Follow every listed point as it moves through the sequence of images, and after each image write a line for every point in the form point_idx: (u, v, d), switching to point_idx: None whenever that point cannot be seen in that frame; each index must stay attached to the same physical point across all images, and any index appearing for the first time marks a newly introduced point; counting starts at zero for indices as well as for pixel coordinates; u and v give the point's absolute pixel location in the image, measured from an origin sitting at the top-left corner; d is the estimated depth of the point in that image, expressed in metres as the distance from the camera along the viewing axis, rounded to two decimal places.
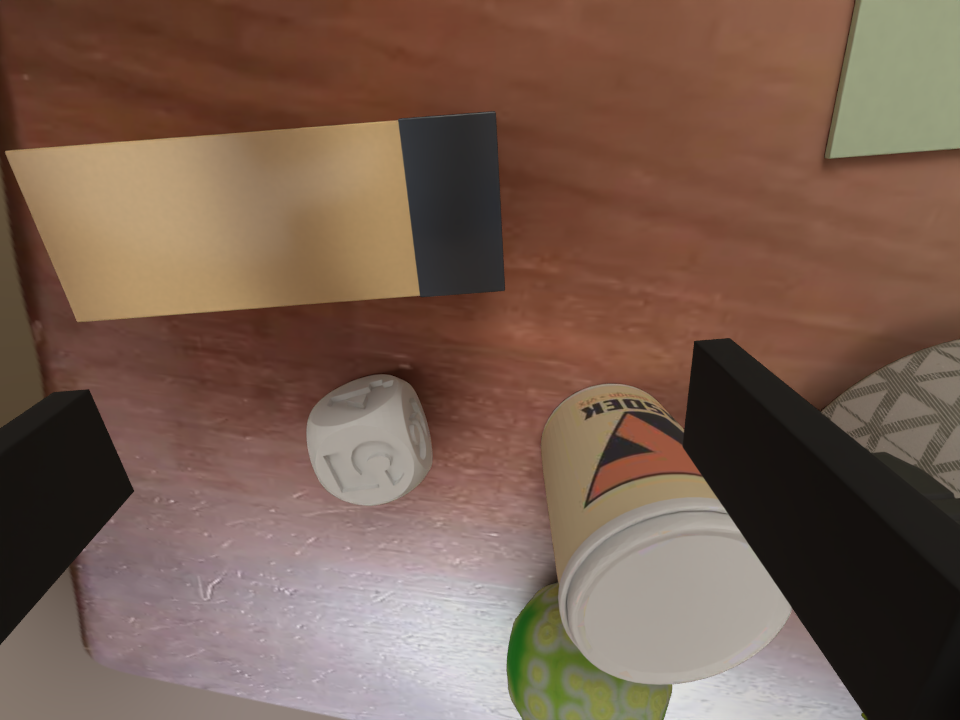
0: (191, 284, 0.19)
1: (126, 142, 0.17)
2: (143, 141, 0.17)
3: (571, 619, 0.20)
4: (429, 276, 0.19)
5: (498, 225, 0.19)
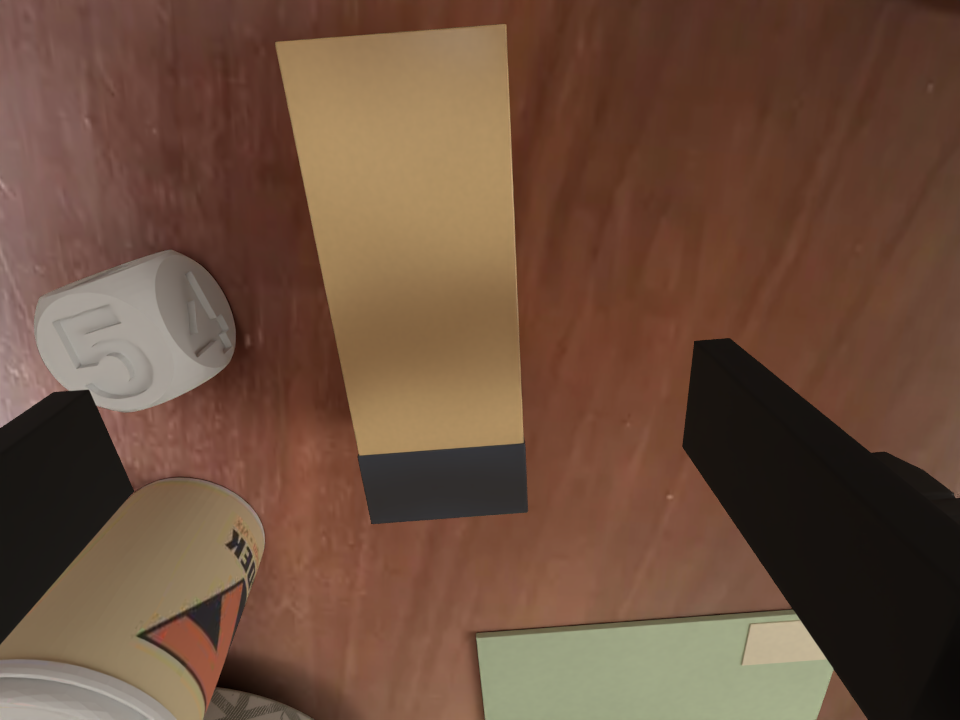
0: (348, 221, 0.15)
1: (512, 186, 0.15)
2: (512, 206, 0.15)
3: None
4: (380, 464, 0.19)
5: (432, 515, 0.20)
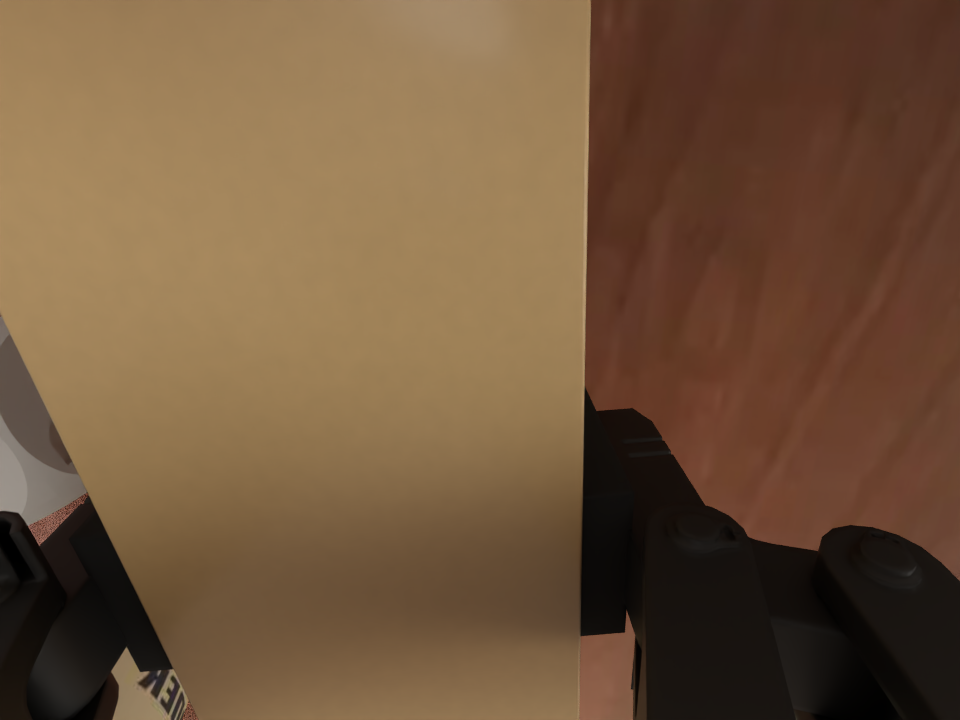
0: (142, 399, 0.06)
1: (584, 311, 0.05)
2: (582, 359, 0.06)
3: None
4: None
5: None
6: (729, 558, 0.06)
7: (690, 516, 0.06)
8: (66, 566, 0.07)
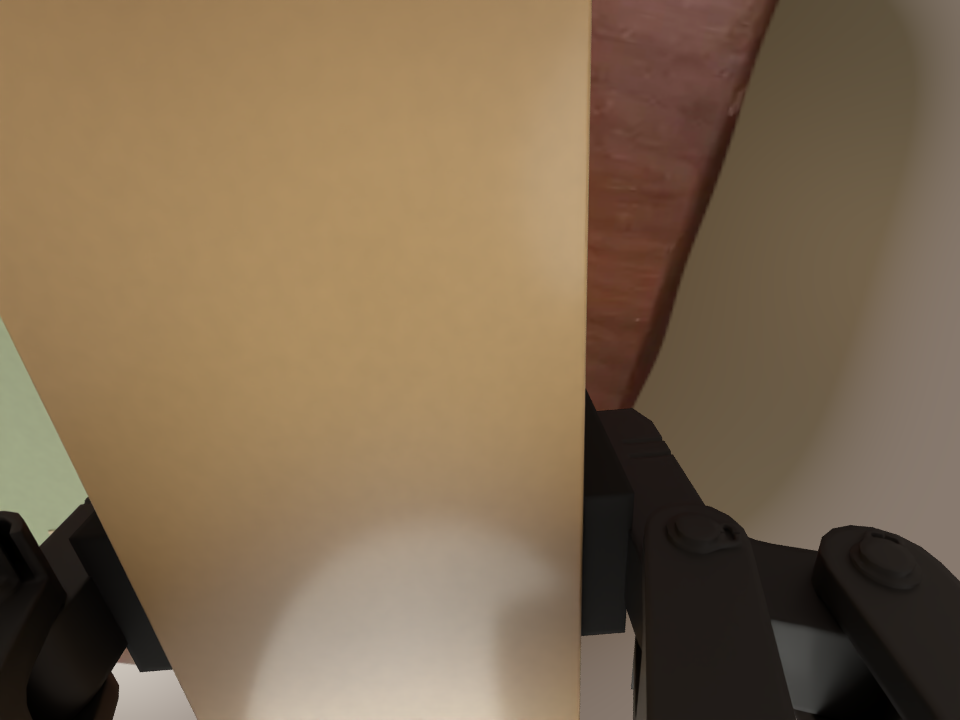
0: (141, 399, 0.06)
1: (585, 311, 0.05)
2: (583, 359, 0.06)
3: None
4: None
5: None
6: (729, 558, 0.06)
7: (690, 516, 0.06)
8: (66, 566, 0.07)
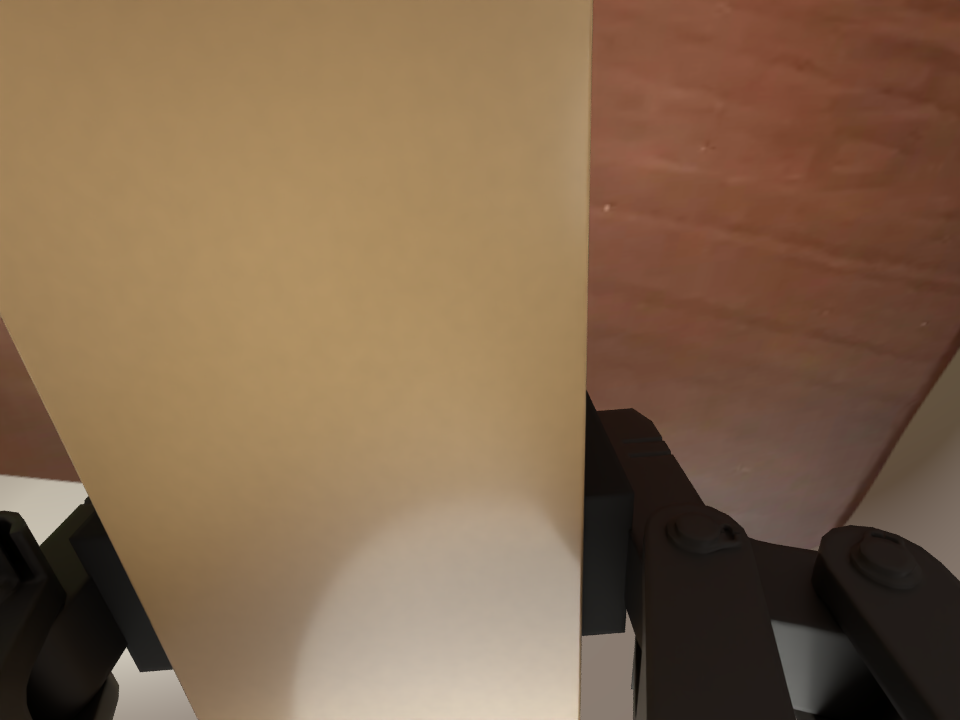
0: (141, 397, 0.06)
1: (586, 308, 0.05)
2: (584, 357, 0.06)
3: None
4: None
5: None
6: (729, 558, 0.06)
7: (690, 516, 0.06)
8: (66, 566, 0.07)
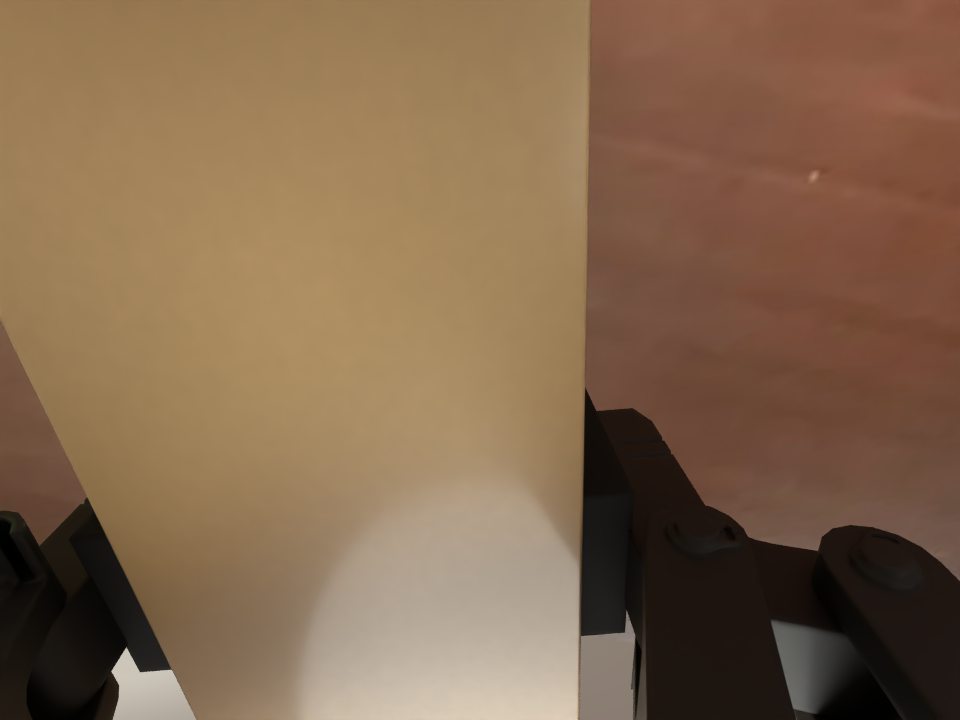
0: (140, 398, 0.06)
1: (584, 309, 0.05)
2: (583, 357, 0.06)
3: None
4: None
5: None
6: (730, 558, 0.06)
7: (690, 516, 0.06)
8: (66, 566, 0.07)
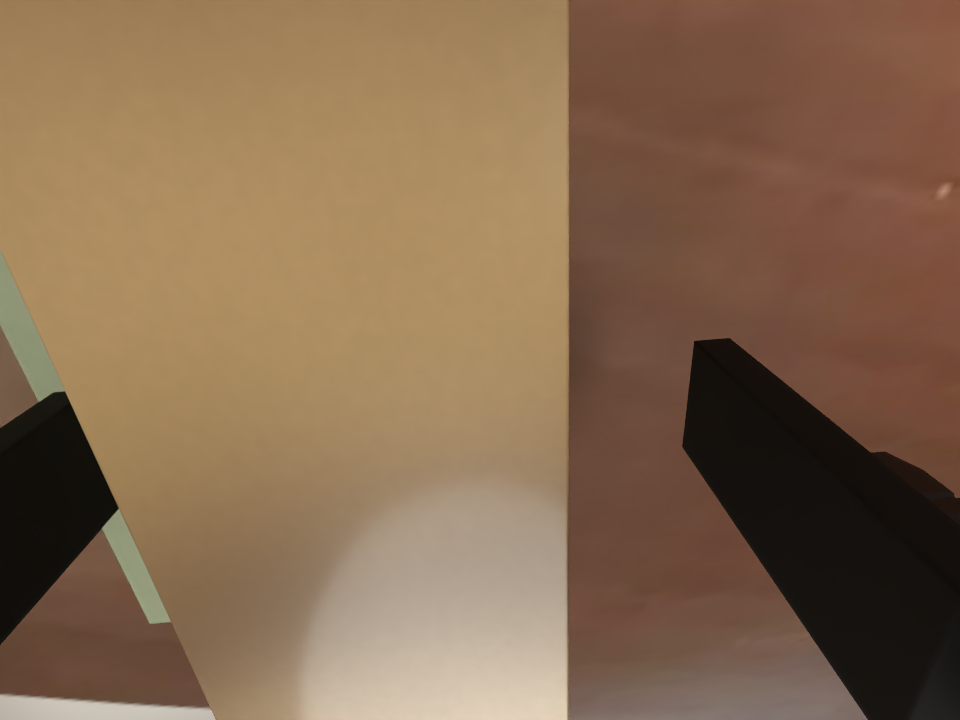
0: (148, 366, 0.06)
1: (567, 280, 0.06)
2: (566, 327, 0.06)
3: None
4: None
5: None
6: None
7: None
8: None
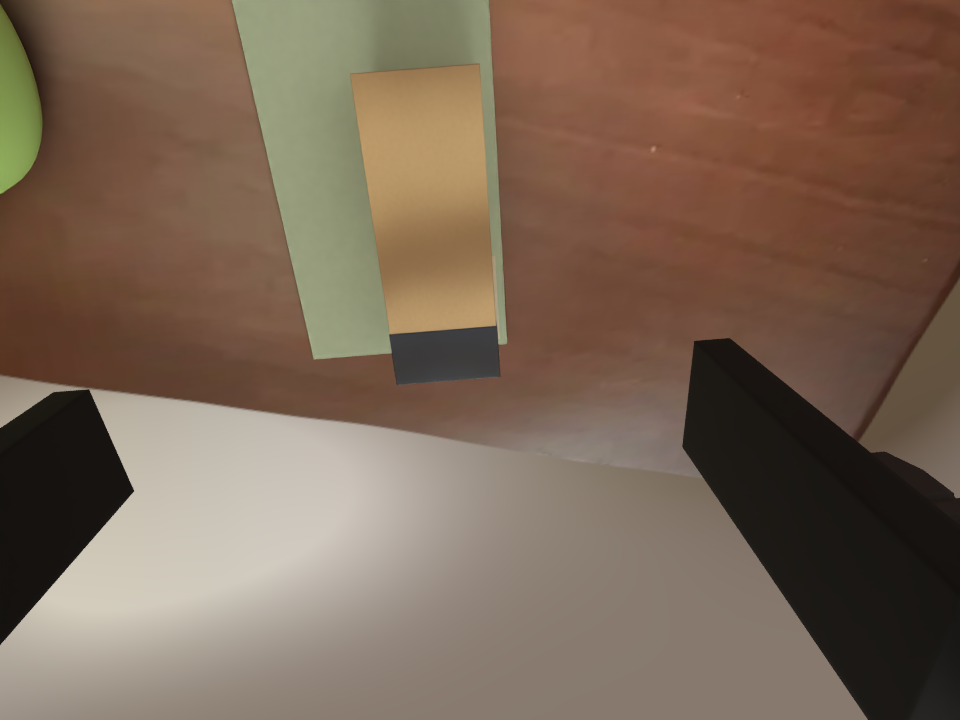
0: (388, 178, 0.26)
1: (485, 157, 0.25)
2: (485, 169, 0.26)
3: None
4: (403, 340, 0.29)
5: (437, 379, 0.30)
6: None
7: None
8: None
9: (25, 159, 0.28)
